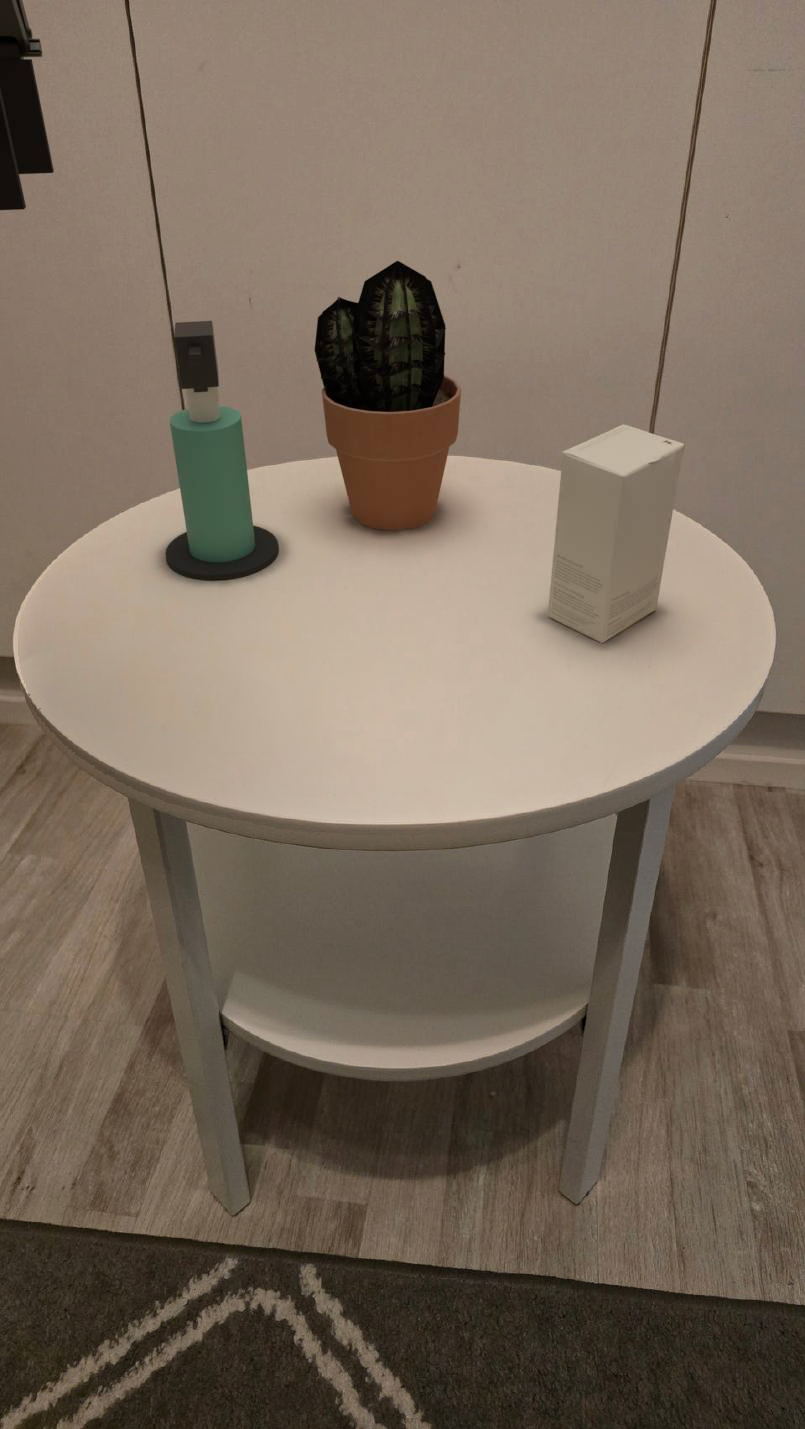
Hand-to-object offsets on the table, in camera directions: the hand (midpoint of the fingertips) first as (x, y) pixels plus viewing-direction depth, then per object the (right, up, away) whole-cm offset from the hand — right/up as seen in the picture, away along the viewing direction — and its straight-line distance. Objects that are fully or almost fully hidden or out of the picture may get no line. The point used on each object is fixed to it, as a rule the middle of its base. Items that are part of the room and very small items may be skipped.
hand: (18, 190), depth 62 cm
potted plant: (+23, -12, +42) cm, 49 cm away
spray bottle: (+7, -17, +34) cm, 39 cm away
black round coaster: (+7, -17, +35) cm, 39 cm away
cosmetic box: (+42, -25, +25) cm, 55 cm away
